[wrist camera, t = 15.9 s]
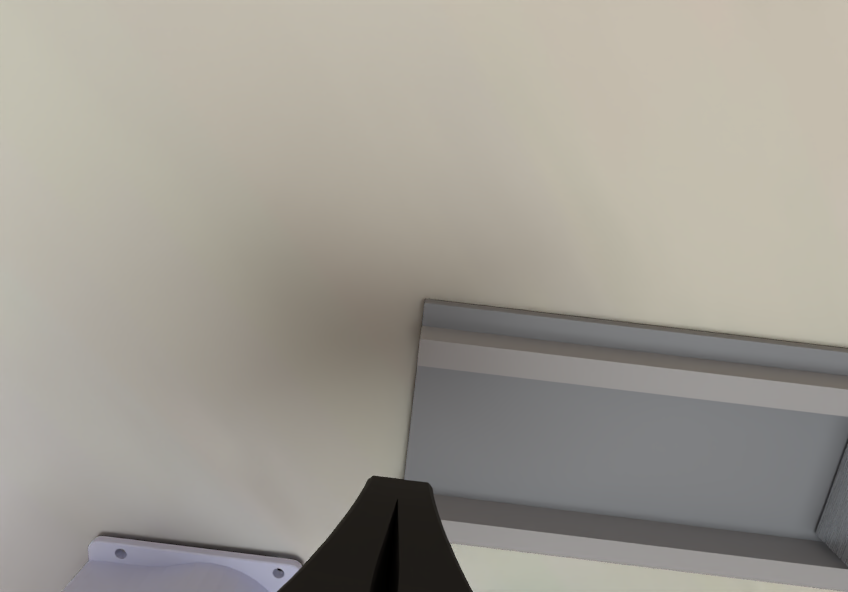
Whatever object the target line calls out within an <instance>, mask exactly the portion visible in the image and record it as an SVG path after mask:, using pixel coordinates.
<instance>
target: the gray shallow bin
mask: <svg viewBox="0 0 848 592" xmlns="http://www.w3.org/2000/svg"><path fill="white" fill-rule="evenodd" d="M847 444H848V348H839V347H831V346H822V345H814V344H805V343H797V342H788V341H780V340H771V339H763V338H754V337H746V336H737V335H729V334H720V333H712V332H703V331H695V330H686V329H678V328H669V327H661V326H653V325H644V324H636V323H627V322H619V321H610V320H602V319H593V318H585V317H576V316H568V315H559V314H551V313H542V312H534V311H525V310H517V309H508V308H500V307H491V306H483V305H474V304H466V303H457V302H449V301H440V300H432V299H425V303H424V311H423V320H422V328H421V335H420V343H419V352H418V360H417V372H416V381H415V389H414V398H413V407H412V415H411V424H410V433H409V441H408V450H407V458H406V467H405V476H404V480H412V481H420V482H428V483H429V484H430V485H431V486H432V488H433V494H434V499H435V503H436V506H437V510H438V513H439V516H440V519H441V522H442V525H443V528H444V530H445V533H446V535H447V538H448V540H449V543H453V544H461V545H470V546H478V547H486V548H494V549H502V550H510V551H519V552H527V553H535V554H543V555H551V556H559V557H567V558H576V559H584V560H592V561H600V562H608V563H616V564H624V565H633V566H641V567H649V568H657V569H665V570H673V571H681V572H690V573H698V574H706V575H714V576H722V577H730V578H739V579H747V580H755V581H763V582H771V583H779V584H787V585H796V586H804V587H812V588H820V589H828V590H836V591H844V592H848V566H847V565H846V564H845V563H844V562H843V561H842V560H841V559H840V558H839V557H838V556H837V555H836V554H835V553H834V552H833V551H832V550H831V549H830V548H829V547H828V546H827V545H826V544H825V543H824V542H823V541H822V540H821V539H820V538H819V537H818V536H817V535H816V534H815V533H816V530H817V527H818V525H819V522H820V519H821V516H822V513H823V511H824V508H825V505H826V502H827V500H828V497H829V494H830V491H831V489H832V486H833V483H834V480H835V478H836V475H837V472H838V469H839V466H840V464H841V461H842V458H843V455H844V453H845V450H846V447H847Z"/></svg>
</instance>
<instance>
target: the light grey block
mask: <svg viewBox="0 0 848 592" xmlns="http://www.w3.org/2000/svg"><path fill="white" fill-rule="evenodd" d="M815 534H816V535H817V536H818V537H819V538H820V539H821V540H822V541H823V542H824V543H825V544H826V545H827V546H828V547H829V548H830V549H831V550H832V551H833V552H834V553H835V554H836V555H837V556H838V557H839V558H840V559H841V560H842V561H843V562H844V563H845V564H846V565H847V566H848V444H847V447H846V450H845V453H844V455H843V458H842V461H841V464H840V466H839V469H838V472H837V475H836V478H835V480H834V483H833V486H832V489H831V491H830V494H829V497H828V500H827V502H826V505H825V508H824V511H823V513H822V516H821V519H820V522H819V525H818V527H817V530H816V533H815Z"/></svg>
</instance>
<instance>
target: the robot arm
mask: <svg viewBox="0 0 848 592" xmlns="http://www.w3.org/2000/svg"><path fill="white" fill-rule="evenodd" d="M122 549H123V550H124V551H125V552H124V551H123V550H122ZM88 558H89V561H88V562H87V563H86V564H85V565H84V566H83V567H82V569H81V570H80V571H79V572H78V573H77V574H76V575H75V576H74V578H73V579H72V580H71V581H70V582H69V583H68V584H67V585H66V586H65V588H64V589H63V590H62V591H61V592H473V591H472V590H471V588H470V586H469V584H468V582H467V580H466V578H465V576H464V574H463V572H462V570H461V568H460V566H459V563H458V561H457V559H456V557H455V555H454V552H453V550H452V547H451V545H450V543H449V540H448V538H447V535H446V533H445V530H444V528H443V525H442V522H441V519H440V516H439V513H438V510H437V506H436V503H435V499H434V494H433V488H432V486H431V485H430V484H429V483H428V482H420V481H412V480H404V479H396V478H388V477H379V476H372V477H371V478H370V479H368V480H367V482H366V485H365V486H364V488H363V490H362V492H361V493H360V495H359V496H358V498H357V500H356V501H355V503H354V504H353V505H352V507H351V508H350V510H349V511H348V513H347V514H346V515H345V517H344V518H343V519H342V520H341V522H340V523H339V524H338V526H337V527H336V528H335V529H334V531H333V532H332V533H331V535H330V536H329V537H328V538H327V539H326V541H325V542H324V543H323V544H322V545H321V546H320V547H319V548H318V550H317V551H316V552H315V553H314V554H313V555H312V556H311V557H310V559H309V560H308V561H307V562H306V563H305V564H304V565H303V566H302V565H301V563H299V562H298V561H296V560H293V559H285V558H277V557H269V556H261V555H253V554H245V553H237V552H229V551H221V550H213V549H204V548H196V547H188V546H180V545H172V544H164V543H156V542H148V541H140V540H132V539H123V538H115V537H107V536H98V537H96V538H95V539H94V540H93V541H92V542H91V543H90V544H89V545H88ZM277 568H279V569H282V570H283V571H278V570H277Z"/></svg>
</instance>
